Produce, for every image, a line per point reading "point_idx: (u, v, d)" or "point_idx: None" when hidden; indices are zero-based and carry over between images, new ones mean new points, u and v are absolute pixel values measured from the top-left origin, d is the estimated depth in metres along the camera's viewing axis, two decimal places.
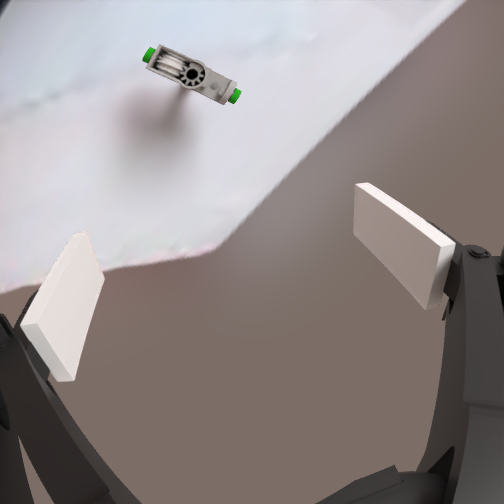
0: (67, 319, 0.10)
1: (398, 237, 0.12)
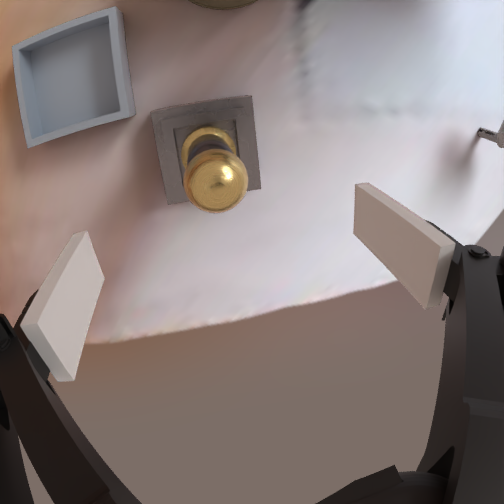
0: (67, 319, 0.10)
1: (398, 237, 0.12)
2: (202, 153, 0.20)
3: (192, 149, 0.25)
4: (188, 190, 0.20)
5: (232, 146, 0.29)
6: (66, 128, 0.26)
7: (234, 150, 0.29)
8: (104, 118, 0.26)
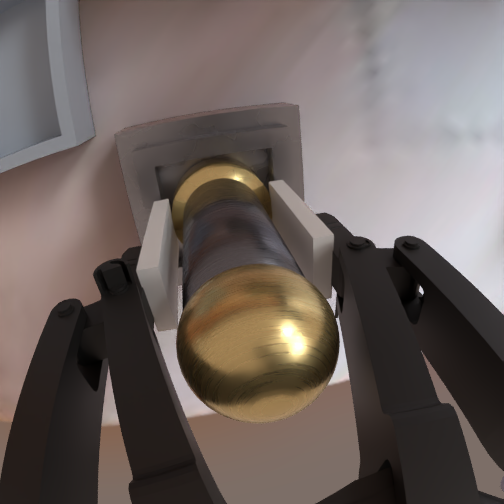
0: (169, 271, 0.12)
1: (292, 231, 0.13)
2: (225, 292, 0.07)
3: (192, 226, 0.12)
4: (192, 388, 0.07)
5: (266, 201, 0.16)
6: None
7: (269, 208, 0.16)
8: (36, 149, 0.14)
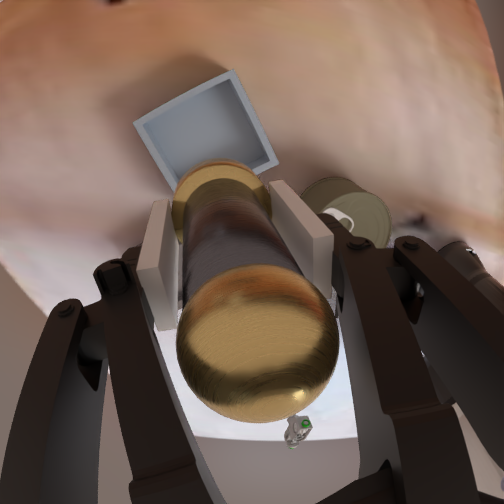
0: (169, 271, 0.12)
1: (292, 231, 0.13)
2: (224, 292, 0.07)
3: (192, 225, 0.12)
4: (192, 388, 0.07)
5: (266, 201, 0.16)
6: (160, 159, 0.32)
7: (269, 208, 0.16)
8: None
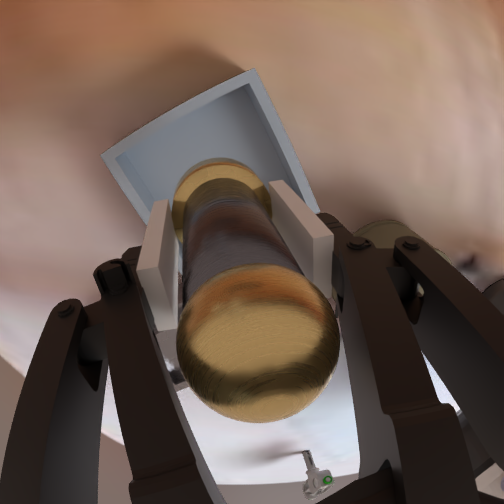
0: (169, 271, 0.12)
1: (292, 231, 0.13)
2: (225, 291, 0.07)
3: (192, 225, 0.12)
4: (192, 388, 0.07)
5: (266, 200, 0.16)
6: (145, 209, 0.22)
7: (269, 207, 0.16)
8: None
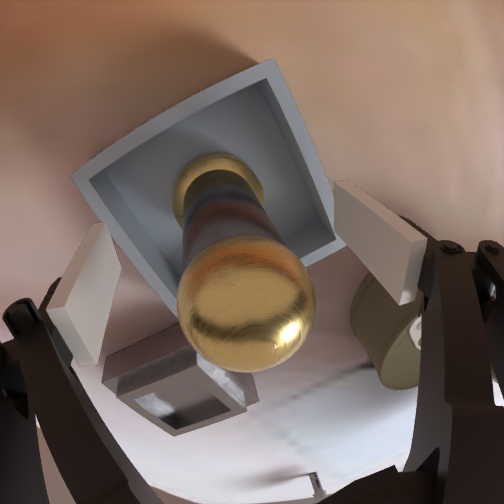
0: (90, 305, 0.10)
1: (373, 233, 0.12)
2: (217, 254, 0.09)
3: (191, 209, 0.14)
4: (189, 338, 0.09)
5: (258, 190, 0.18)
6: (130, 244, 0.17)
7: (261, 196, 0.18)
8: (170, 297, 0.19)
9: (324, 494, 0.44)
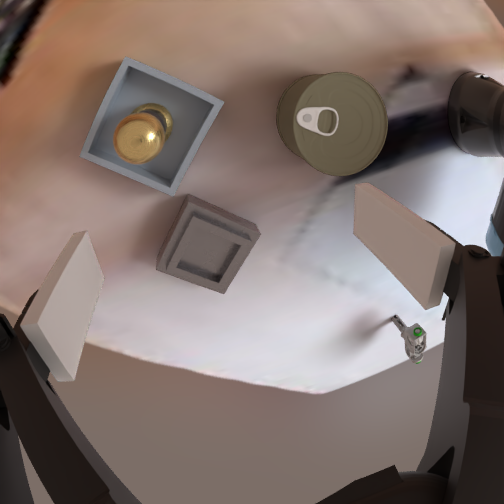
0: (67, 319, 0.10)
1: (398, 237, 0.12)
2: (116, 127, 0.23)
3: None
4: (121, 156, 0.23)
5: (162, 109, 0.31)
6: (121, 168, 0.32)
7: (165, 110, 0.31)
8: (154, 183, 0.34)
9: None
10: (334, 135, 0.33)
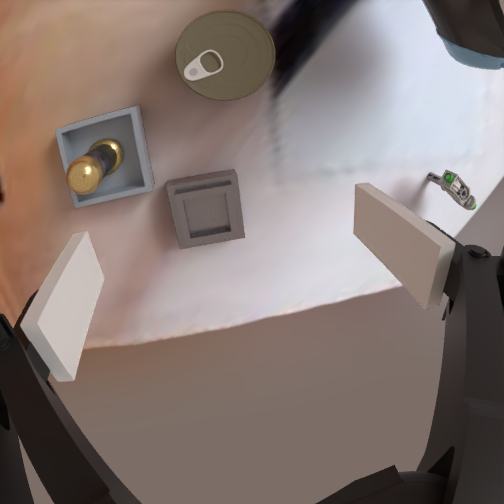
0: (67, 319, 0.10)
1: (398, 237, 0.12)
2: None
3: None
4: (80, 193, 0.31)
5: (102, 141, 0.38)
6: (105, 196, 0.41)
7: (105, 140, 0.38)
8: (133, 190, 0.41)
9: None
10: (226, 66, 0.33)
